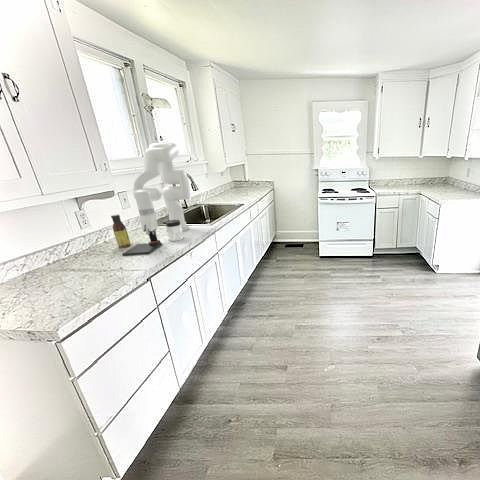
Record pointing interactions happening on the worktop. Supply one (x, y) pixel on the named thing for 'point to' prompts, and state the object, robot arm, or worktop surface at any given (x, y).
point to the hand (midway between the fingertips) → (154, 241)
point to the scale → (142, 248)
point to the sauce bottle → (120, 232)
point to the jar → (174, 230)
